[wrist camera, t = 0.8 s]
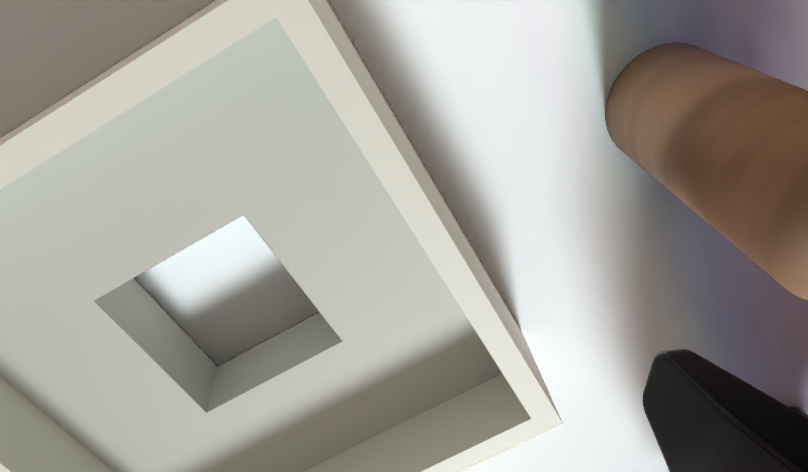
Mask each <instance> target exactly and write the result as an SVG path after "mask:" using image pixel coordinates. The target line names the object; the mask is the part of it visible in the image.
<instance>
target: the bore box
mask: <svg viewBox="0 0 808 472" xmlns="http://www.w3.org/2000/svg"><path fill="white" fill-rule="evenodd" d="M242 215H244V216H245V218H246V219H247V220H248V221H249V223H250V224H251V225H252V226H253V228H254V229H255V230H256V232H257V233H258V234H259V235H260V237H261V238H262V239H263V240H264V242H265V243H266V244H267V246H268V247H269V248H270V249H271V251H272V252H273V253H274V255H275V256H276V257H277V258H278V260H279V261H280V262H281V263H282V265H283V266H284V267H285V269H286V270H287V271H288V272H289V274H290V275H291V276H292V277H293V279H294V280H295V281H296V283H297V284H298V285H299V286H300V288H301V289H302V290H303V291H304V293H305V294H306V295H307V297H308V298H309V299H310V300H311V302H312V303H313V304H314V305H315V307H316V308H317V309H318V311H319V313H317V314H315V315H313V316H311V317H309V318H307V319H306V320H304V321H302V322H300V323H298V324H296V325H294V326H293V327H291V328H289V329H287V330H285V331H283V332H281V333H279V334H278V335H276V336H274V337H272V338H270V339H268V340H266V341H265V342H263V343H261V344H259V345H257V346H255V347H253V348H251V349H250V350H248V351H246V352H244V353H242V354H240V355H238V356H237V357H235V358H233V359H231V360H229V361H227V362H225V363H223V364H222V365H220V366H218V367H217V366H216V365H215V364H214V362H213V361H212V360H211V359H210V358H209V357H208V356H207V355H206V354H205V353H204V352H203V351H202V350H201V349H200V348H199V347H198V346H197V344H196V343H195V342H194V341H193V340H192V339H191V338H190V337H189V336H188V335H187V334H186V333H185V332H184V331H183V330H182V329H181V328H180V326H179V325H178V324H177V323H176V322H175V321H174V320H173V319H172V318H171V317H170V316H169V315H168V314H167V313H166V312H165V311H164V310H163V308H162V307H161V306H160V305H159V304H158V303H157V302H156V301H155V300H154V299H153V298H152V297H151V296H150V295H149V294H148V293H147V292H146V290H145V289H144V288H143V287H142V286H141V285H140V284H139V283H138V282H137V281H136V280H135V279H134V277H136V276H138V275H140V274H141V273H143V272H145V271H147V270H148V269H150V268H152V267H154V266H155V265H157V264H159V263H161V262H162V261H164V260H166V259H168V258H169V257H171V256H173V255H175V254H176V253H178V252H180V251H181V250H183V249H185V248H187V247H188V246H190V245H192V244H194V243H195V242H197V241H199V240H201V239H202V238H204V237H206V236H208V235H209V234H211V233H213V232H215V231H216V230H218V229H220V228H222V227H223V226H225V225H227V224H229V223H230V222H232V221H234V220H235V219H237V218H239V217H241V216H242ZM560 424H562V421H561V418H560V416H559V414H558V412H557V409H556V407H555V405H554V403H553V401H552V398H551V396H550V394H549V392H548V389H547V387H546V385H545V383H544V381H543V378H542V376H541V374H540V372H539V369H538V367H537V365H536V363H535V361H534V358H533V356H532V354H531V352H530V349H529V347H528V345H527V343H526V341H525V338H524V336H523V334H522V332H521V330H520V328H519V327H518V325H517V323H516V322H515V320H514V318H513V316H512V315H511V313H510V311H509V310H508V308H507V306H506V304H505V303H504V301H503V299H502V298H501V296H500V294H499V293H498V291H497V289H496V287H495V286H494V284H493V282H492V281H491V279H490V277H489V276H488V274H487V272H486V270H485V269H484V267H483V265H482V264H481V262H480V260H479V258H478V257H477V255H476V253H475V252H474V250H473V248H472V247H471V245H470V243H469V241H468V240H467V238H466V236H465V235H464V233H463V231H462V230H461V228H460V226H459V224H458V223H457V221H456V219H455V218H454V216H453V214H452V213H451V211H450V209H449V207H448V206H447V204H446V202H445V201H444V199H443V197H442V195H441V194H440V192H439V190H438V189H437V187H436V185H435V184H434V182H433V180H432V178H431V177H430V175H429V173H428V172H427V170H426V168H425V167H424V165H423V163H422V161H421V160H420V158H419V156H418V155H417V153H416V151H415V149H414V148H413V146H412V144H411V143H410V141H409V139H408V138H407V136H406V134H405V132H404V131H403V129H402V127H401V126H400V124H399V122H398V121H397V119H396V117H395V115H394V114H393V112H392V110H391V109H390V107H389V105H388V103H387V102H386V100H385V98H384V97H383V95H382V93H381V92H380V90H379V88H378V86H377V85H376V83H375V81H374V80H373V78H372V76H371V75H370V73H369V71H368V69H367V68H366V66H365V64H364V63H363V61H362V59H361V57H360V56H359V54H358V52H357V51H356V49H355V47H354V46H353V44H352V42H351V40H350V39H349V37H348V35H347V34H346V32H345V30H344V29H343V27H342V25H341V23H340V22H339V20H338V18H337V17H336V15H335V13H334V12H333V10H332V8H331V6H330V5H329V3H328V1H327V0H215V1H214V2H212V3H211V4H209V5H208V6H206V7H205V8H203V9H201V10H200V11H198V12H197V13H195V14H194V15H192V16H190V17H189V18H187V19H186V20H184V21H183V22H181V23H180V24H178V25H176V26H175V27H173V28H172V29H170V30H169V31H167V32H165V33H164V34H162V35H161V36H159V37H158V38H156V39H154V40H153V41H151V42H150V43H148V44H147V45H145V46H144V47H142V48H140V49H139V50H137V51H136V52H134V53H133V54H131V55H129V56H128V57H126V58H125V59H123V60H122V61H120V62H119V63H117V64H115V65H114V66H112V67H111V68H109V69H108V70H106V71H104V72H103V73H101V74H100V75H98V76H97V77H95V78H93V79H92V80H90V81H89V82H87V83H86V84H84V85H83V86H81V87H79V88H78V89H76V90H75V91H73V92H72V93H70V94H68V95H67V96H65V97H64V98H62V99H61V100H59V101H58V102H56V103H54V104H53V105H51V106H50V107H48V108H47V109H45V110H43V111H42V112H40V113H39V114H37V115H36V116H34V117H32V118H31V119H29V120H28V121H26V122H25V123H23V124H22V125H20V126H18V127H17V128H15V129H14V130H12V131H11V132H9V133H7V134H6V135H4V136H3V137H1V138H0V472H461V471H463V470H465V469H467V468H470V467H472V466H474V465H476V464H478V463H480V462H482V461H484V460H486V459H489V458H491V457H493V456H495V455H497V454H499V453H501V452H503V451H505V450H508V449H510V448H512V447H514V446H516V445H518V444H520V443H522V442H524V441H527V440H529V439H531V438H533V437H535V436H537V435H539V434H541V433H543V432H546V431H548V430H550V429H552V428H554V427H556V426H558V425H560Z"/></svg>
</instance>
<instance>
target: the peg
mask: <svg viewBox="0 0 808 472" xmlns="http://www.w3.org/2000/svg"><path fill="white" fill-rule="evenodd" d="M605 114H606V125H607V129H608V132H609V135H610V137H611V139H612V140H613V142H614V143H615V144H616V146H617V147H618V148H619V149H620V150H622V151H623V152H624V153H625V154H626V155H628V156H629V157H630V158H631V159H632V160H633V161H635V162H636V163H637V164H638V165H639V166H641V167H642V168H643V169H644V170H645V171H646V172H648V173H649V174H650V175H651V176H652V177H654V178H655V179H656V180H657V181H658V182H660V183H661V184H662V185H663V186H664V187H665V188H667V189H668V190H669V191H670V192H671V193H673V194H674V195H675V196H676V197H677V198H679V199H680V200H681V201H682V202H683V203H684V204H686V205H687V206H688V207H689V208H690V209H692V210H693V211H694V212H695V213H696V214H697V215H699V216H700V217H701V218H702V219H703V220H705V221H706V222H707V223H708V224H709V225H711V226H712V227H713V228H714V229H715V230H716V231H718V232H719V233H720V234H721V235H722V236H724V237H725V238H726V239H727V240H728V241H729V242H731V243H732V244H733V245H734V246H735V247H737V248H738V249H739V250H740V251H741V252H743V253H744V254H745V255H746V256H747V257H748V258H750V259H751V260H752V261H753V262H754V263H756V264H757V265H758V266H759V267H760V268H761V269H763V270H764V271H765V272H766V273H767V274H769V275H770V276H771V277H772V278H773V279H775V280H776V281H777V282H778V283H779V284H780V285H782V286H783V287H784V288H785V289H786V290H788V291H789V292H791V293H792V294H793V295H795V296H798V297H800V298H802V299H805V300H808V91H807V90H804V89H802V88H799V87H796V86H794V85H791V84H789V83H786V82H784V81H781V80H779V79H776V78H773V77H771V76H768V75H766V74H763V73H761V72H758V71H756V70H753V69H751V68H748V67H745V66H743V65H740V64H738V63H735V62H733V61H730V60H728V59H725V58H722V57H720V56H717V55H715V54H712V53H710V52H707V51H705V50H702V49H699V48H697V47H694V46H692V45H688V44H682V43H671V44H664V45H660V46H657V47H654V48H652V49H650V50H648V51H645V52H644V53H642V54H641V55H639V56H638V57H636V58H635V59H634V60H633V61H631V62H630V63H629V64H628V65H627V66H626V67H625V68H624V69H623V71H622V72H621V73H620V74H619V76H618V77H617V79H616V81H615V82H614V84H613V86H612V88H611V90H610V93H609V96H608V100H607V104H606V112H605Z"/></svg>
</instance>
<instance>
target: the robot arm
mask: <svg viewBox="0 0 808 472" xmlns="http://www.w3.org/2000/svg"><path fill="white" fill-rule="evenodd" d="M643 406H644V410H645V413H646V416H647V418H648V420H649V423H650V425H651V428H652V430H653V432H654V435H655V437H656V440H657V442H658V445H659V447H660V449H661V452H662V454H663V457H664V459H665V461H666V464H667V466H668V469H669V471H670V472H808V415H807V414H806V413H805V412H804V411H803V410H802V409H801V408H792V409H791V408H790V407H788V406H786V405H784V404H783V403H781V402H779V401H777V400H776V399H774V398H772V397H771V396H769V395H767V394H765V393H764V392H762V391H760V390H758V389H757V388H755V387H753V386H751V385H750V384H748V383H746V382H744V381H743V380H741V379H739V378H737V377H736V376H734V375H732V374H730V373H729V372H727V371H725V370H723V369H722V368H720V367H718V366H717V365H715V364H713V363H711V362H710V361H708V360H706V359H704V358H703V357H701V356H699V355H697V354H696V353H694V352H692V351H690V350H685V349H680V350H672V351H663V352H660V353H658V354H657V355H656V356H655V358H654V360H653V363H652V366H651V370H650V373H649V376H648V379H647V383H646V386H645V389H644V393H643Z"/></svg>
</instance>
